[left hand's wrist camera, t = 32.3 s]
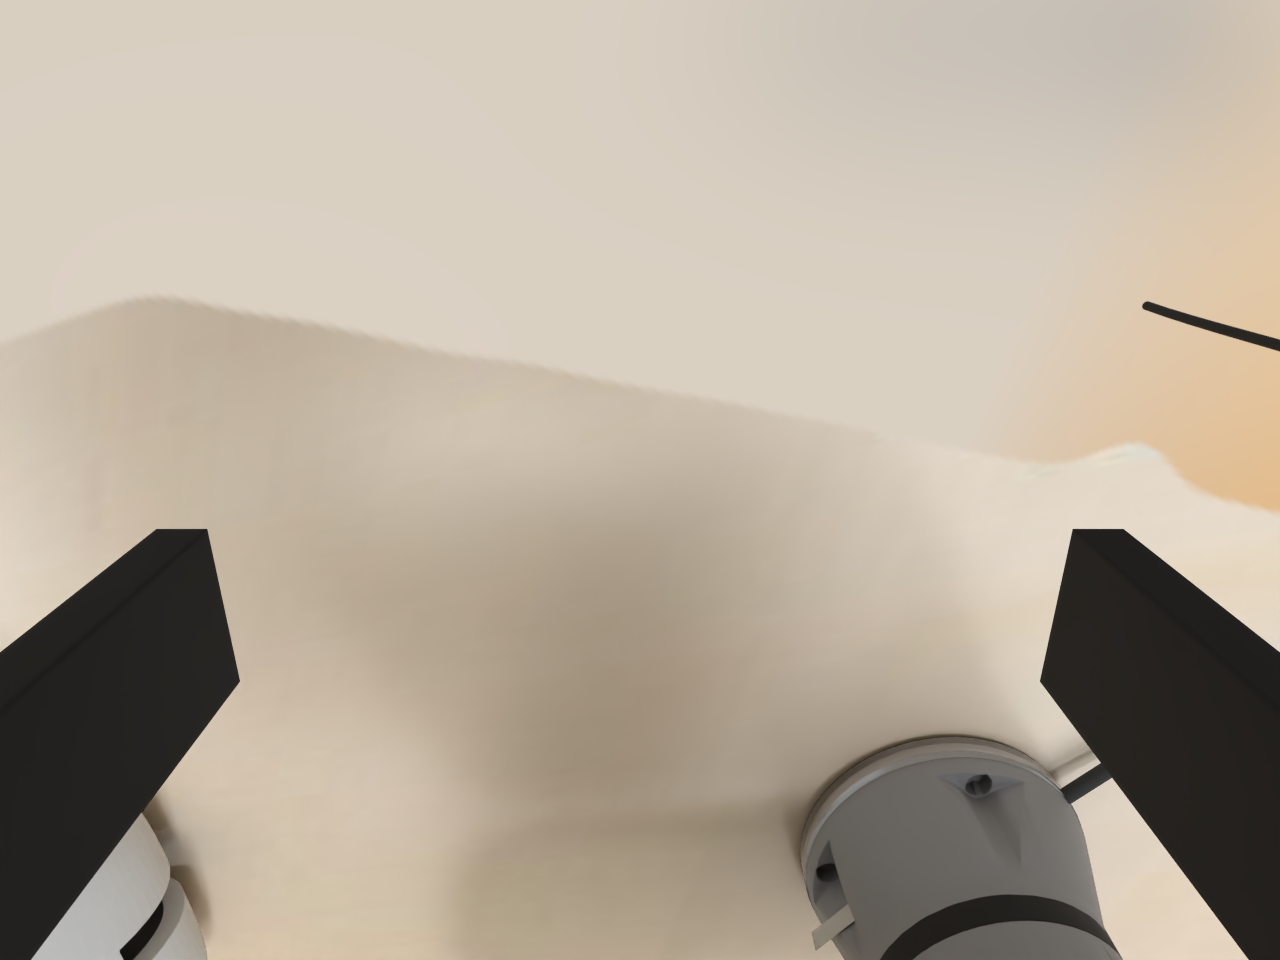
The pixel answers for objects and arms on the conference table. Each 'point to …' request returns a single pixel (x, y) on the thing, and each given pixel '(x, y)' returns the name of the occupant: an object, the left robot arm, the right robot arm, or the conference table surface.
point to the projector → (129, 909)
